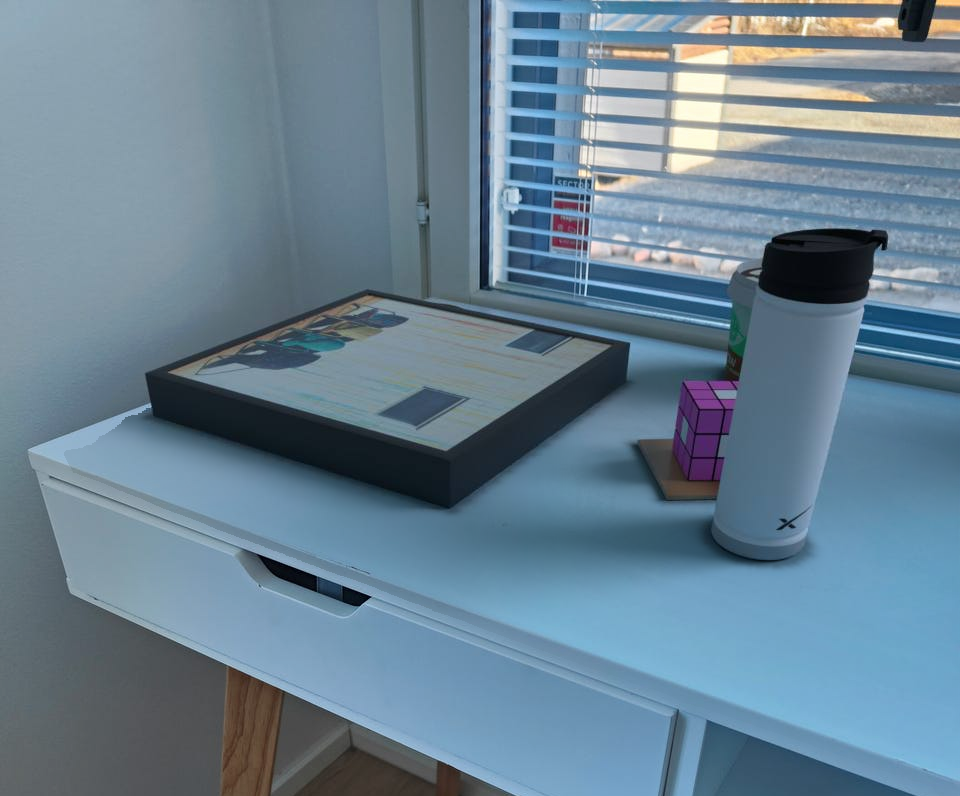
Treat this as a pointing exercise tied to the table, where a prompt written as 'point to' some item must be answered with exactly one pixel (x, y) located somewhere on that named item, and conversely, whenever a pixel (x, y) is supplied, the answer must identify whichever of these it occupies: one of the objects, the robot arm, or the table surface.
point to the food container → (741, 313)
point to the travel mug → (791, 386)
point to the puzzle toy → (703, 427)
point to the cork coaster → (674, 472)
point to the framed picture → (394, 390)
